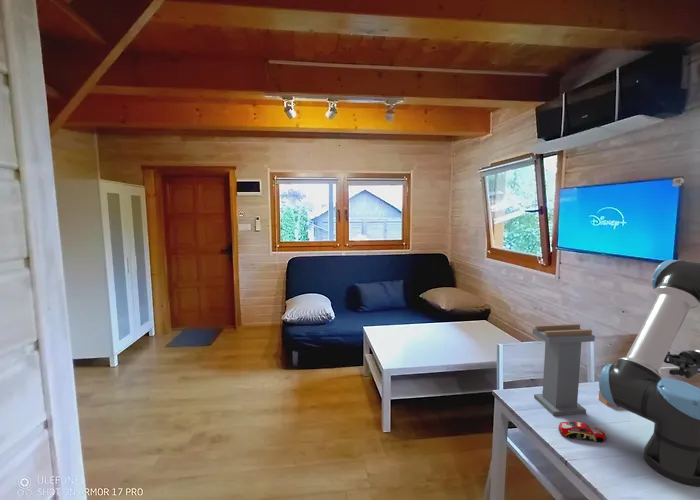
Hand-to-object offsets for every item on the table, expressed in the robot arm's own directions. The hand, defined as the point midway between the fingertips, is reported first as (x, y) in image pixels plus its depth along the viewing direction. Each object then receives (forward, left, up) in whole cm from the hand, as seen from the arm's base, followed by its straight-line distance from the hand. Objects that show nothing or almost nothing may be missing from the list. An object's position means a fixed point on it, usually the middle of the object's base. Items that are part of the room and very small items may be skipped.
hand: (643, 363), depth 139 cm
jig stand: (-24, +20, -14) cm, 35 cm away
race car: (-39, +9, -15) cm, 42 cm away
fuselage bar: (-1, +1, -15) cm, 15 cm away
